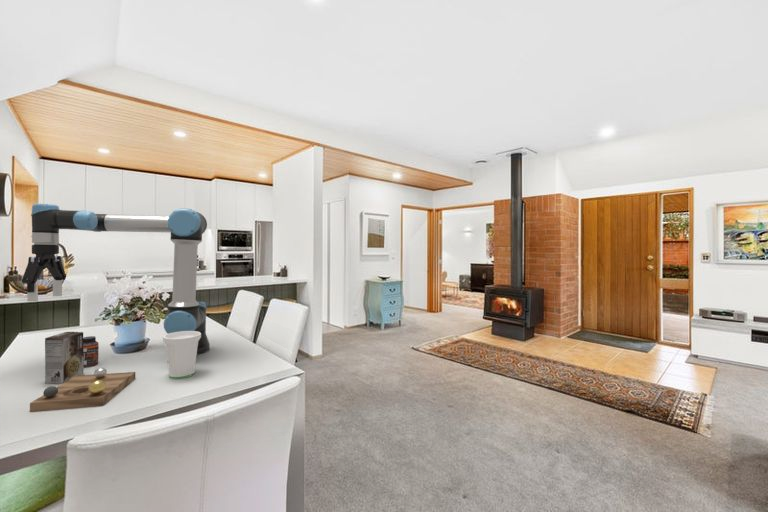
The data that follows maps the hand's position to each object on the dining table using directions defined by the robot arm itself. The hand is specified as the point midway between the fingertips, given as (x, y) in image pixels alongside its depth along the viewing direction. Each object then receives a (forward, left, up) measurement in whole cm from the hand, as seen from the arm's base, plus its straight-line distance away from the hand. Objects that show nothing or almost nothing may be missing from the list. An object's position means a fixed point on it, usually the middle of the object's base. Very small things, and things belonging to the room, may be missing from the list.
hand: (45, 298), depth 132 cm
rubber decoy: (-23, +38, -23) cm, 50 cm away
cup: (-53, +18, -28) cm, 62 cm away
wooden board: (-29, +30, -27) cm, 50 cm away
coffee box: (-14, +14, -28) cm, 34 cm away
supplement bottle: (-14, -1, -28) cm, 31 cm away
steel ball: (-29, +23, -23) cm, 43 cm away
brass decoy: (-35, +38, -23) cm, 56 cm away
